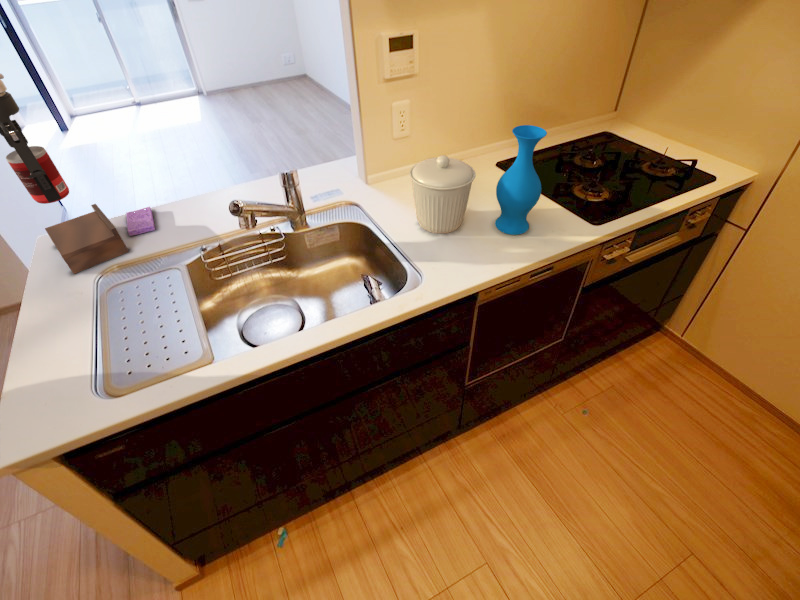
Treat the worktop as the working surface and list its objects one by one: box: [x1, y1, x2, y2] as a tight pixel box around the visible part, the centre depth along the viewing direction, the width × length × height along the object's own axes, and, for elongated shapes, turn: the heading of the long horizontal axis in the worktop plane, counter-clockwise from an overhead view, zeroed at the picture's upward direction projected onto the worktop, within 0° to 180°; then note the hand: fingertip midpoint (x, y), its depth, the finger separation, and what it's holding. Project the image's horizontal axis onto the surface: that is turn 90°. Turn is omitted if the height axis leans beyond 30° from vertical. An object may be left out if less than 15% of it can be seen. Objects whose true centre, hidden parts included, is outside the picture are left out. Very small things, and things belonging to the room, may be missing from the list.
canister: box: [408, 154, 477, 235], centre depth 120 cm, size 18×18×21 cm
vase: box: [494, 124, 548, 236], centre depth 116 cm, size 12×13×28 cm
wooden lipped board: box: [44, 203, 130, 275], centre depth 118 cm, size 14×18×8 cm
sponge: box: [125, 206, 156, 237], centre depth 129 cm, size 7×13×2 cm, turn 28°
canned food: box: [5, 145, 70, 205], centre depth 101 cm, size 8×8×11 cm
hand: (50, 193), depth 104 cm, fingers closed on canned food, 8 cm apart
